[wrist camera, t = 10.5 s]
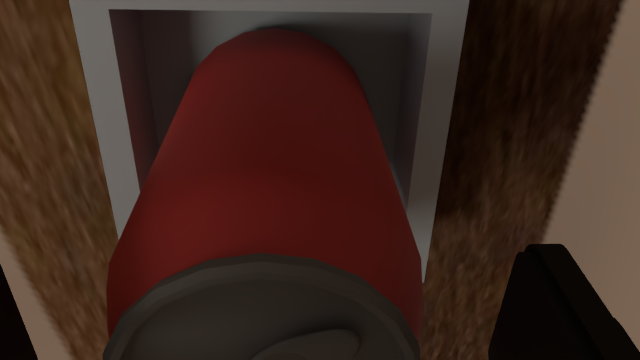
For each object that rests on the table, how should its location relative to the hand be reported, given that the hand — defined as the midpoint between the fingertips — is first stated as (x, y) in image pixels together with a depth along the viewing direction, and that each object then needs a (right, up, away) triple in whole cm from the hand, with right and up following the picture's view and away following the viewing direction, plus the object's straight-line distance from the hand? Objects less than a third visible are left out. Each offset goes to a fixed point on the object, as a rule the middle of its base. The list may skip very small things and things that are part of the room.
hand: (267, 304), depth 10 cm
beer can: (-1, +5, +10) cm, 11 cm away
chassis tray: (-1, +5, +11) cm, 12 cm away
